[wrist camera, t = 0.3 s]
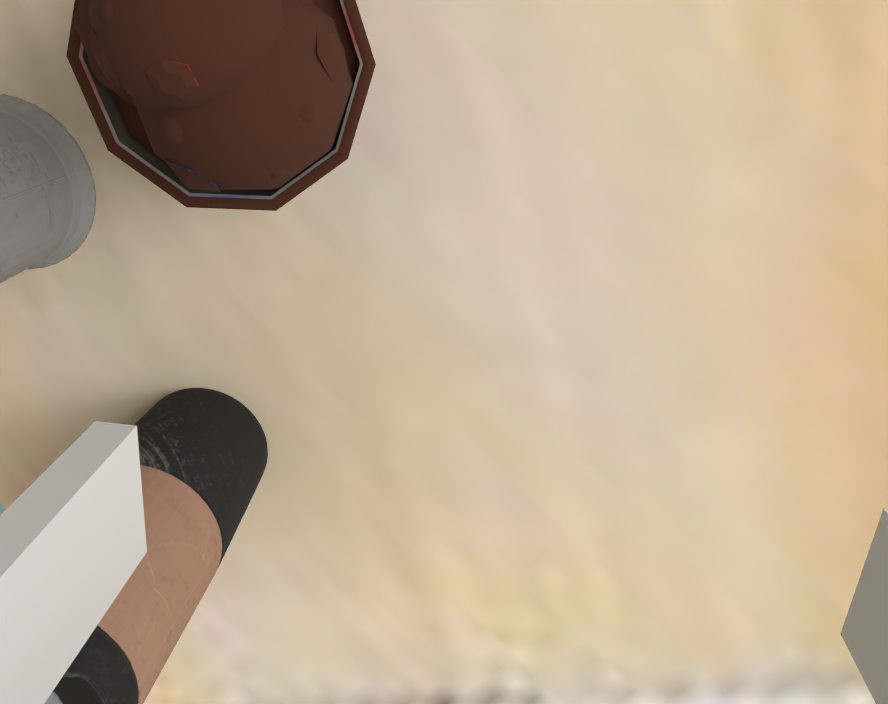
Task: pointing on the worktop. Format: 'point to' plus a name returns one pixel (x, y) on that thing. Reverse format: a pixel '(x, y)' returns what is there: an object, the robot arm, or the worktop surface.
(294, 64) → the ice cream bowl
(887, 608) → the robot arm
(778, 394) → the worktop surface
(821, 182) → the worktop surface
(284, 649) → the worktop surface
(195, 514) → the travel mug
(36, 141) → the glass holder
